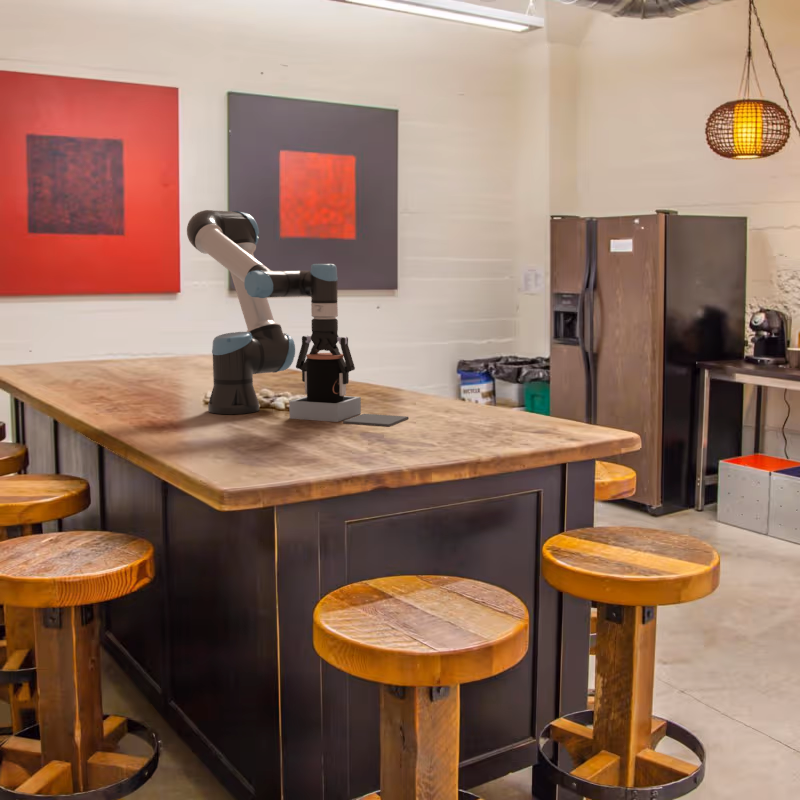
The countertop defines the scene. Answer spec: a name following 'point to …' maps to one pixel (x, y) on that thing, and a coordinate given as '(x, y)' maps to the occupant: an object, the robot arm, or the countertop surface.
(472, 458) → the countertop surface
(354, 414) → the pocket frame
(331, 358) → the coffee jar
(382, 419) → the pad
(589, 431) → the countertop surface
